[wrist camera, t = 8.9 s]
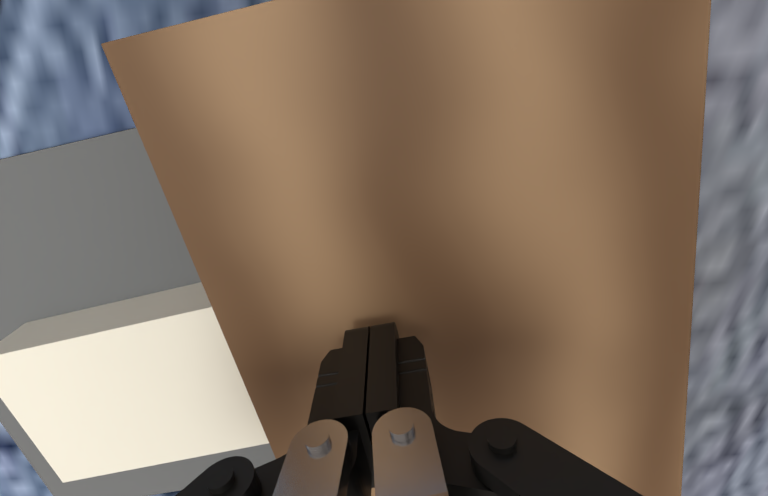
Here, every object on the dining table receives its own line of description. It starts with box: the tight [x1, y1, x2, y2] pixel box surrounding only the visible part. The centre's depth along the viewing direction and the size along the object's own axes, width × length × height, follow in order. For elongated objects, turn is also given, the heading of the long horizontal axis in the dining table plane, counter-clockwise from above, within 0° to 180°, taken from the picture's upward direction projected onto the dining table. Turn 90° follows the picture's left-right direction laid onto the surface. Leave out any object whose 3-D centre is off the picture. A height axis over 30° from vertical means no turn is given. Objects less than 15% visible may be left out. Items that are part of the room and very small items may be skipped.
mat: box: [0, 128, 276, 496], centre depth 18 cm, size 13×16×1 cm
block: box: [0, 282, 269, 483], centre depth 17 cm, size 9×6×2 cm, turn 104°
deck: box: [101, 0, 711, 496], centre depth 15 cm, size 14×20×4 cm
